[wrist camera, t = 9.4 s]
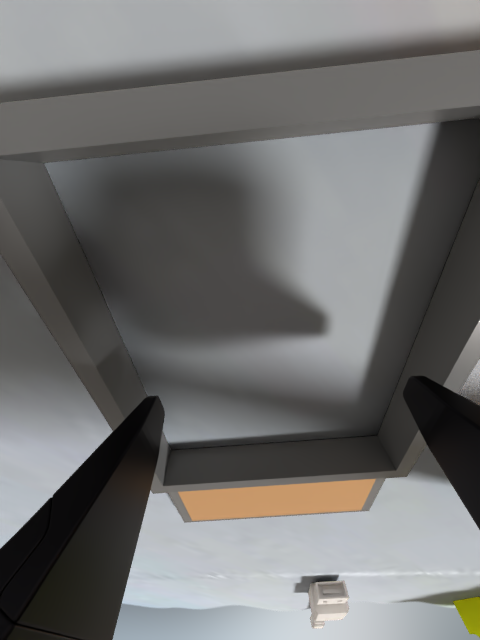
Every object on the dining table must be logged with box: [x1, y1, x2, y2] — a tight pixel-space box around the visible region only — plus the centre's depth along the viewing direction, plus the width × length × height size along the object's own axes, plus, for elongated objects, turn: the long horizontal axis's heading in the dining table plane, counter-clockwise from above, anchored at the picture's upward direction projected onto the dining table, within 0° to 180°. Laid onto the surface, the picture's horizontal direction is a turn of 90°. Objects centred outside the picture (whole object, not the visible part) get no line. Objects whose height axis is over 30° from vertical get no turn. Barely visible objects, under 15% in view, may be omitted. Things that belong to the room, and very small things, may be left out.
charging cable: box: [308, 581, 349, 629], centre depth 39 cm, size 5×31×3 cm, turn 6°
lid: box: [168, 478, 386, 522], centre depth 17 cm, size 15×7×1 cm, turn 95°
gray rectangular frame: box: [0, 50, 480, 494], centre depth 10 cm, size 15×17×2 cm
